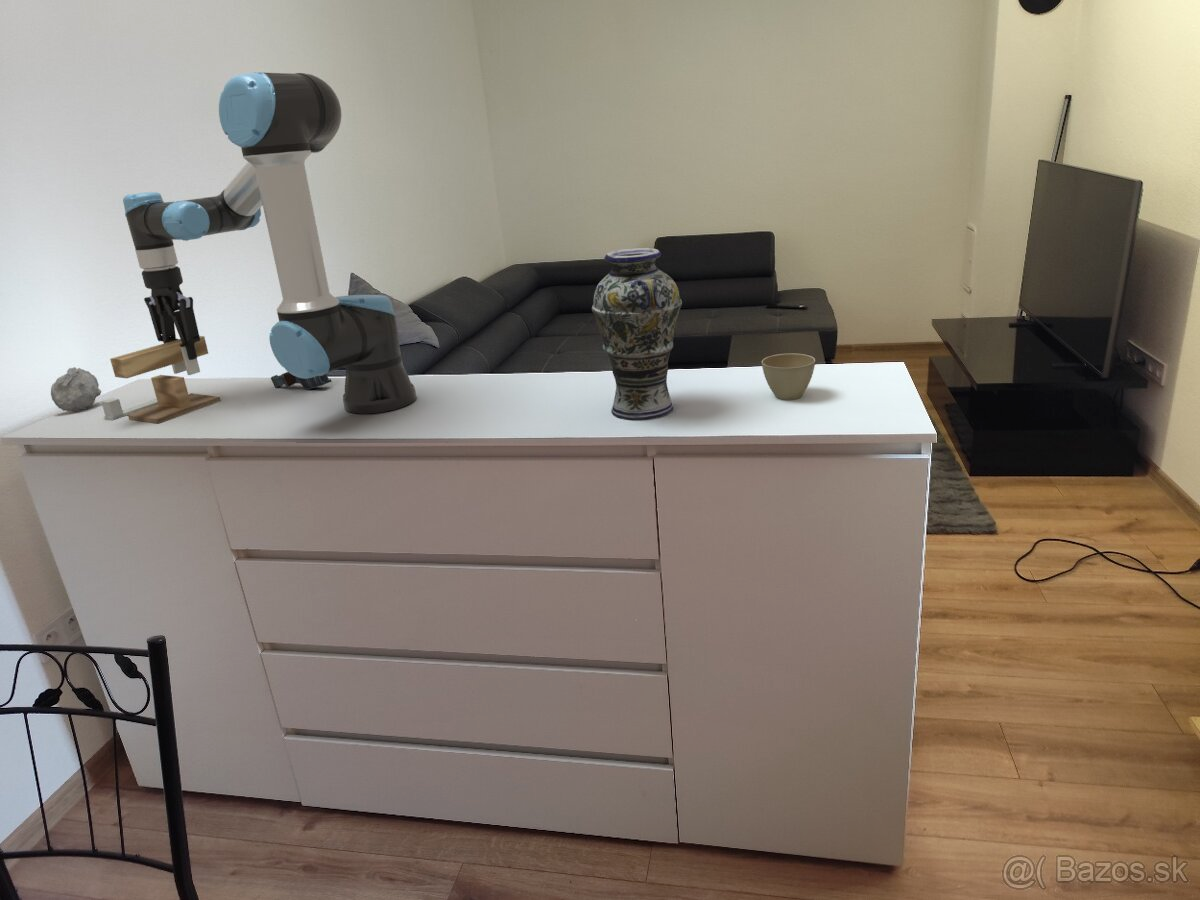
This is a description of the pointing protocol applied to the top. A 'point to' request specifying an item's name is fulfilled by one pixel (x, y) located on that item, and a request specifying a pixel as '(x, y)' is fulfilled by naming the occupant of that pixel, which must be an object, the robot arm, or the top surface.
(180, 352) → the bar
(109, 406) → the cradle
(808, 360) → the flower pot
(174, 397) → the fulcrum
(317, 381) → the gun
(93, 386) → the stone
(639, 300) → the vase
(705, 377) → the top surface
